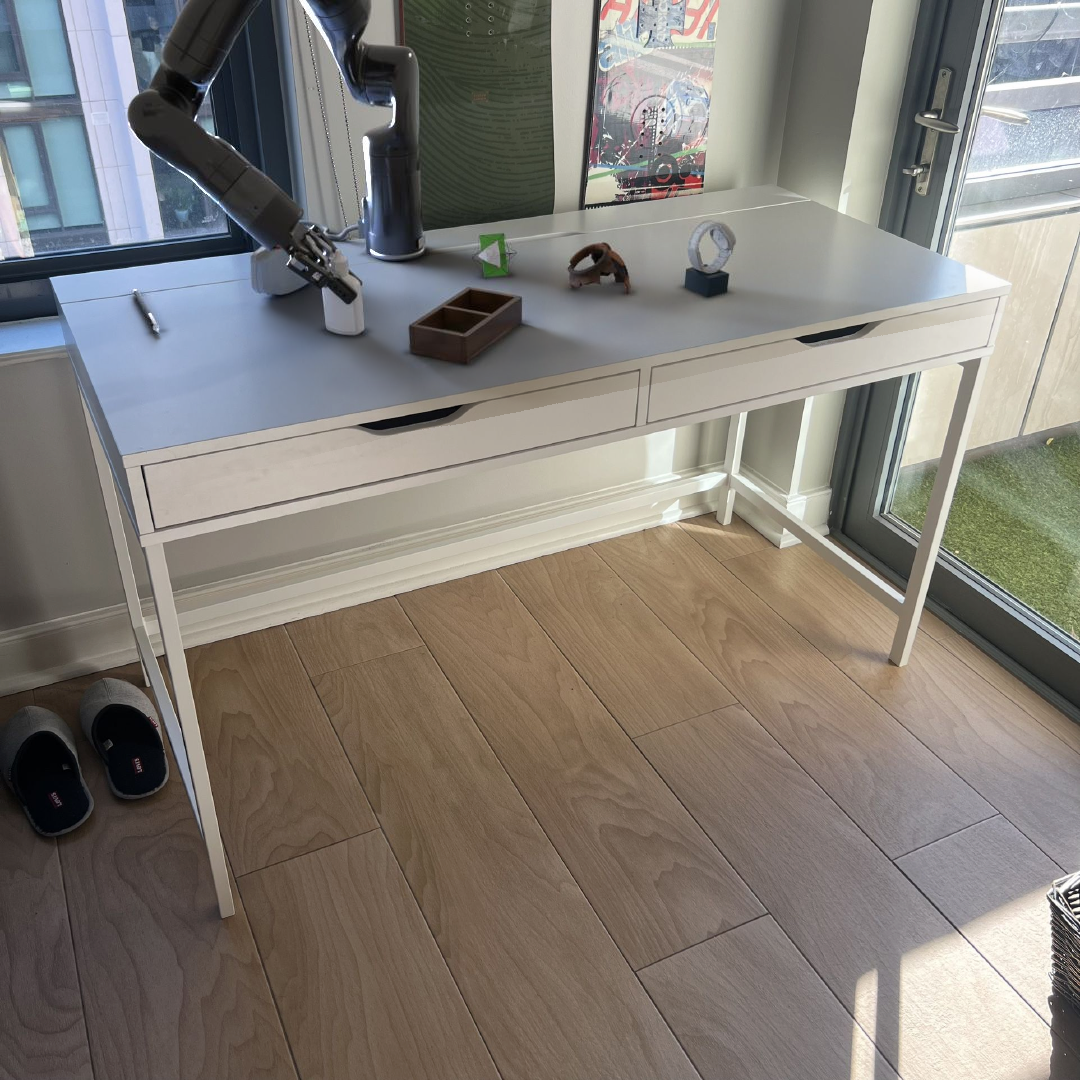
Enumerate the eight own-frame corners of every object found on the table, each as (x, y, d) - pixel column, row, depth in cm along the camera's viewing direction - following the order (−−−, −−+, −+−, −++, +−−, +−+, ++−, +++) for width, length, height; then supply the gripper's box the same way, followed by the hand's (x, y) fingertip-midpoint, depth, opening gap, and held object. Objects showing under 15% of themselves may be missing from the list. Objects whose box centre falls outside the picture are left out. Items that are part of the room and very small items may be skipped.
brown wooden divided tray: (409, 353, 149) (408, 325, 147) (468, 312, 162) (467, 286, 160) (467, 364, 146) (466, 336, 144) (522, 322, 159) (522, 296, 157)
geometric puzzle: (465, 253, 179) (472, 223, 172) (504, 249, 181) (512, 220, 174) (475, 289, 177) (482, 261, 170) (514, 285, 179) (523, 257, 171)
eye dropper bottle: (341, 340, 153) (334, 258, 146) (322, 327, 156) (314, 247, 150) (368, 333, 155) (361, 252, 148) (348, 321, 158) (341, 241, 152)
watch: (736, 290, 172) (744, 222, 166) (699, 299, 168) (706, 230, 162) (712, 280, 176) (719, 213, 170) (675, 289, 172) (681, 221, 166)
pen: (155, 334, 153) (154, 327, 152) (132, 292, 167) (130, 285, 167) (161, 333, 153) (160, 326, 153) (138, 291, 167) (136, 284, 167)
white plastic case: (312, 273, 176) (307, 225, 172) (326, 277, 175) (321, 228, 170) (251, 300, 165) (244, 249, 161) (266, 303, 164) (259, 253, 160)
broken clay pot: (635, 303, 168) (613, 262, 163) (581, 323, 171) (558, 284, 166) (636, 260, 176) (615, 220, 171) (584, 280, 180) (562, 241, 174)
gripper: (266, 203, 138) (366, 294, 145) (288, 174, 150) (379, 260, 157) (231, 242, 141) (331, 330, 148) (255, 211, 153) (346, 294, 160)
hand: (355, 293), depth 152 cm, fingers closed on eye dropper bottle, 4 cm apart
